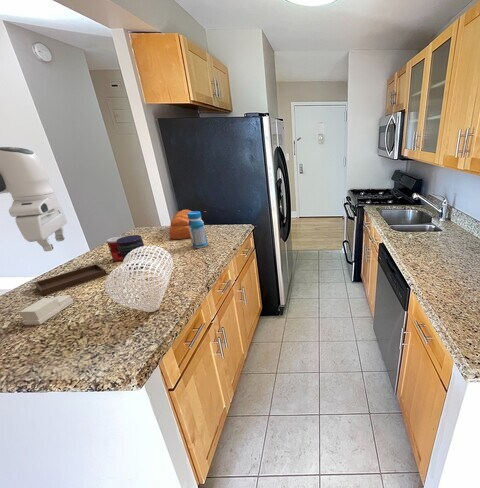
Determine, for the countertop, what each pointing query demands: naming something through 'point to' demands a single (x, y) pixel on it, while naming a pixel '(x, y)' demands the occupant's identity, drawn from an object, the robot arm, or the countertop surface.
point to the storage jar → (130, 247)
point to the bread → (180, 225)
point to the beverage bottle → (197, 229)
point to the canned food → (114, 248)
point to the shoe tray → (69, 279)
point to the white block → (44, 309)
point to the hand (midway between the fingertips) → (55, 245)
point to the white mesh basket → (122, 271)
